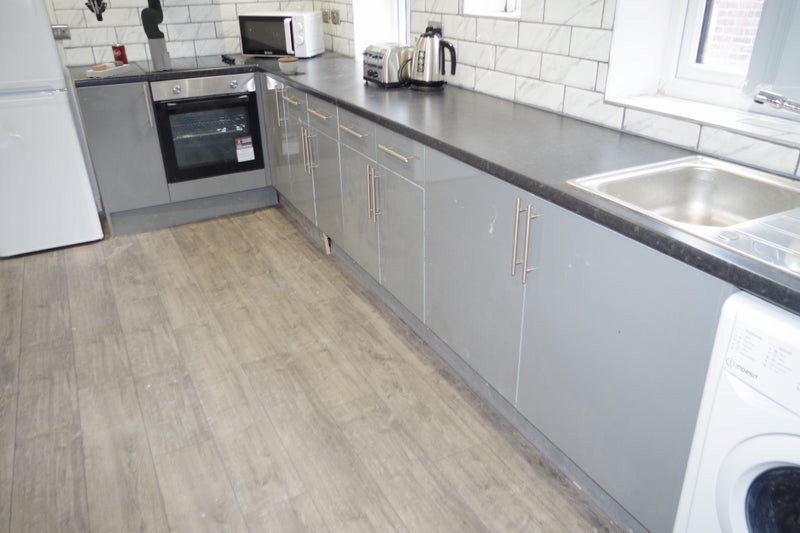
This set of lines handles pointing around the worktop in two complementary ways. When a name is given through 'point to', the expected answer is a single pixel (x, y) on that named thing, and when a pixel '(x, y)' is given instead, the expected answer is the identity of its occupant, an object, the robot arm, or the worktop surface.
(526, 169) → the worktop surface
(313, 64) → the worktop surface
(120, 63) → the charcoal key
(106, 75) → the keypad housing
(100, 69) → the terracotta key
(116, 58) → the soda can
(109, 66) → the ivory key
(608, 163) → the worktop surface
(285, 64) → the lidded jar
